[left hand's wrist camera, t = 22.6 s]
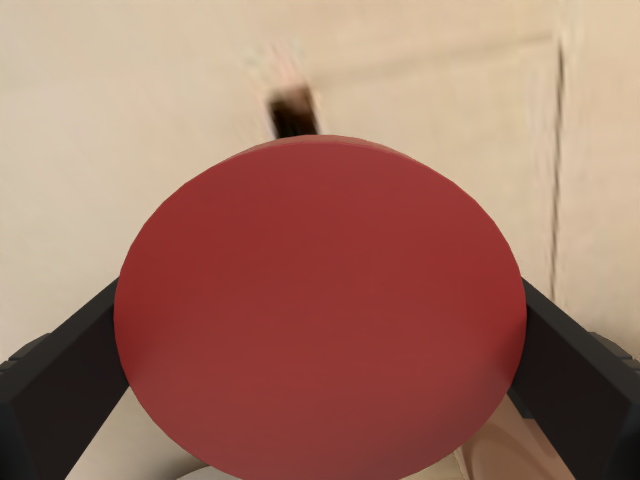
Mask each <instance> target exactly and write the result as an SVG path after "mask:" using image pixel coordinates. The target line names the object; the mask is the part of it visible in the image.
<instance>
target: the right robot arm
mask: <svg viewBox="0 0 640 480" xmlns="http://www.w3.org/2000/svg"><path fill="white" fill-rule="evenodd" d="M506 394H507V395H508V397H509V398H510V400H511V401H512V403H513V404H514V406H515V407H516V409H517V410H518V412H519V413H520V415H521V416H522V418H526V419H534V418H533V417H532V416H531V414H530V413H529V411H528V410H527V408H526V407H525V405H524V404H523V403H522V401H521V400H520V398H519V397H518V395H517V394H516V392H515V391H514V389H513V388H512V387H511V386H510V387H509V389H508V391H507V393H506Z"/></svg>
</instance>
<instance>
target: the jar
mask: <svg viewBox="0 0 640 480" xmlns="http://www.w3.org/2000/svg"><path fill="white" fill-rule="evenodd" d="M453 452H454V454H455V457H456V460H457V462H458V465H459V467H460V470H461V472H462V475H463V477H464V480H576V479H575V478H574V476H573V475H572V474H571V472H570V471H569V469H568V468H567V466H566V465H565V463H564V462H563V461H562V459H561V458H560V456H559V455H558V453H557V452H556V450H555V449H554V447H553V446H552V445H551V443H550V442H549V440H548V439H547V437H546V436H545V434H544V433H543V432H542V430H541V429H540V427H539V426H538V424H537V423H536V421H535V420H534V419H526V418H522V416H521V415H520V413H519V412H518V410H517V409H516V407H515V406H514V404H513V403H512V401H511V400H510V398H509V397H508V395H507V394H506V395H505V396H504V398H503V400H502V402H501V403H500V404H499V406H498V407H497V409H496V410H495V411H494V413H493V414H492V415H491V417H490V418H489V419H488V420H487V421H486V423H485V424H484V425H483V426H482V427H481V428H480V429H479V430H478V431H477V432H476V433H475V434H474V435H473V436H472V437H471V438H470V439H468V440H467V441H466V442H465V443H463V444H462V445H461V446H460V447H459V448H457V449H456V450H455V451H453Z"/></svg>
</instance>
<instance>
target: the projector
mask: <svg viewBox="0 0 640 480" xmlns="http://www.w3.org/2000/svg"><path fill="white" fill-rule="evenodd" d="M176 480H242V479H239V478H237V477H234V476H231V475H229V474H226V473H224V472H222V471H220V470H218V469H216V468H214V467H212V466H208V467H204V468H201V469H198V470H196V471H193V472H191V473H188V474H186V475H184V476H182V477H180V478H178V479H176Z"/></svg>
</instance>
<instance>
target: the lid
mask: <svg viewBox="0 0 640 480" xmlns="http://www.w3.org/2000/svg"><path fill="white" fill-rule="evenodd" d="M113 320H114V332H115V340H116V344H117V349H118V353H119V357H120V362H121V365H122V368H123V370H124V373H125V375H126V378H127V380H128V383H129V385H130V387H131V388H132V390H133V392H134V394H135V395H136V397H137V399H138V401H139V402H140V404H141V405H142V407H143V408H144V409H145V411H146V412H147V413H148V415H149V416H150V417H151V418H152V420H153V421H154V422H155V423H156V424H157V425H158V426H159V427H160V428H161V429H162V430H163V431H164V432H165V433H166V434H167V435H168V436H169V437H170V438H171V439H172V440H173V441H175V442H176V443H177V444H178V445H180V446H181V447H182V448H183V449H184V450H186V451H187V452H189V453H190V454H192V455H193V456H195V457H196V458H198V459H200V460H201V461H203V462H204V463H206V464H208V465H210V466H212V467H214V468H216V469H218V470H220V471H222V472H224V473H226V474H229V475H231V476H234V477H237V478H239V479H242V480H399V479H402V478H404V477H407V476H409V475H412V474H414V473H417V472H419V471H421V470H423V469H425V468H427V467H429V466H430V465H432V464H434V463H436V462H438V461H440V460H441V459H443V458H444V457H446V456H447V455H449V454H450V453H452V452H453V451H455V450H456V449H457V448H459V447H460V446H461V445H462V444H463V443H465V442H466V441H467V440H468V439H470V438H471V437H472V436H473V435H474V434H475V433H476V432H477V431H478V430H479V429H480V428H481V427H482V426H483V425H484V424H485V423H486V421H487V420H488V419H489V418H490V417H491V415H492V414H493V413H494V411H495V410H496V409H497V407H498V406H499V404H500V403H501V402H502V400H503V398H504V396H505V395H506V393H507V391H508V389H509V387H510V386H511V384H512V382H513V379H514V377H515V374H516V371H517V369H518V366H519V364H520V360H521V355H522V351H523V347H524V342H525V338H526V323H527V310H526V299H525V290H524V287H523V283H522V279H521V275H520V271H519V267H518V265H517V263H516V260H515V258H514V256H513V253H512V251H511V249H510V246H509V244H508V243H507V241H506V239H505V238H504V236H503V235H502V233H501V232H500V230H499V229H498V227H497V225H496V224H495V222H494V221H493V220H492V219H491V218H490V216H489V215H488V214H487V213H486V212H485V211H484V210H483V209H482V207H481V206H480V205H479V204H478V203H477V202H476V201H475V200H474V199H473V198H472V197H470V196H469V195H468V194H467V193H466V192H464V191H463V190H462V189H461V188H460V187H458V186H457V185H456V184H455V183H454V182H452V181H451V180H449V179H447V178H446V177H444V176H442V175H441V174H439V173H437V172H436V171H434V170H433V169H431V168H429V167H428V166H426V165H424V164H422V163H420V162H418V161H416V160H414V159H413V158H411V157H409V156H407V155H405V154H402V153H400V152H398V151H395V150H393V149H391V148H389V147H386V146H384V145H381V144H377V143H373V142H370V141H366V140H362V139H359V138H352V137H344V136H337V135H303V136H296V137H289V138H282V139H277V140H274V141H270V142H267V143H263V144H260V145H256V146H254V147H251V148H249V149H247V150H245V151H243V152H240V153H238V154H236V155H234V156H231V157H230V158H228V159H226V160H224V161H222V162H220V163H218V164H216V165H214V166H212V167H211V168H209V169H207V170H206V171H204V172H203V173H201V174H199V175H198V176H196V177H195V178H193V179H191V180H190V181H188V182H187V183H185V184H184V185H183V186H181V187H180V188H179V189H178V190H177V191H176V192H174V193H173V194H172V195H171V196H170V197H169V198H168V199H166V200H165V201H164V202H163V203H162V204H161V205H160V206H159V208H158V209H157V210H156V211H155V212H154V213H153V214H152V216H151V217H150V218H149V219H148V220H147V221H146V223H145V224H144V225H143V227H142V229H141V230H140V232H139V234H138V235H137V237H136V238H135V240H134V242H133V243H132V245H131V247H130V249H129V251H128V254H127V256H126V259H125V261H124V263H123V266H122V268H121V271H120V276H119V280H118V284H117V288H116V292H115V302H114V316H113Z"/></svg>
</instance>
